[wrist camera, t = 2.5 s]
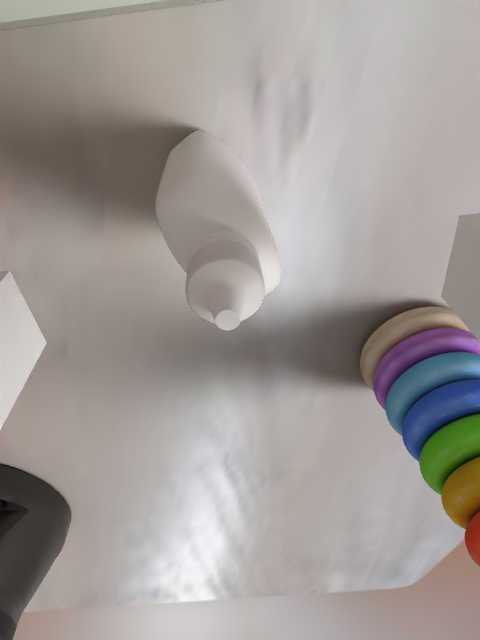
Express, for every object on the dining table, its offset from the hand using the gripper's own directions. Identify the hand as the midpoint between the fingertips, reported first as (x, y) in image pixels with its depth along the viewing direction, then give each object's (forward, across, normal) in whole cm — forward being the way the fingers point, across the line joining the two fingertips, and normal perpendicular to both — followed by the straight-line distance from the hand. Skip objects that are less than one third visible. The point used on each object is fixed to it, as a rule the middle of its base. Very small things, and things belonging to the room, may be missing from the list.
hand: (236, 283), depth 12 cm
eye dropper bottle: (+11, -1, 0) cm, 11 cm away
